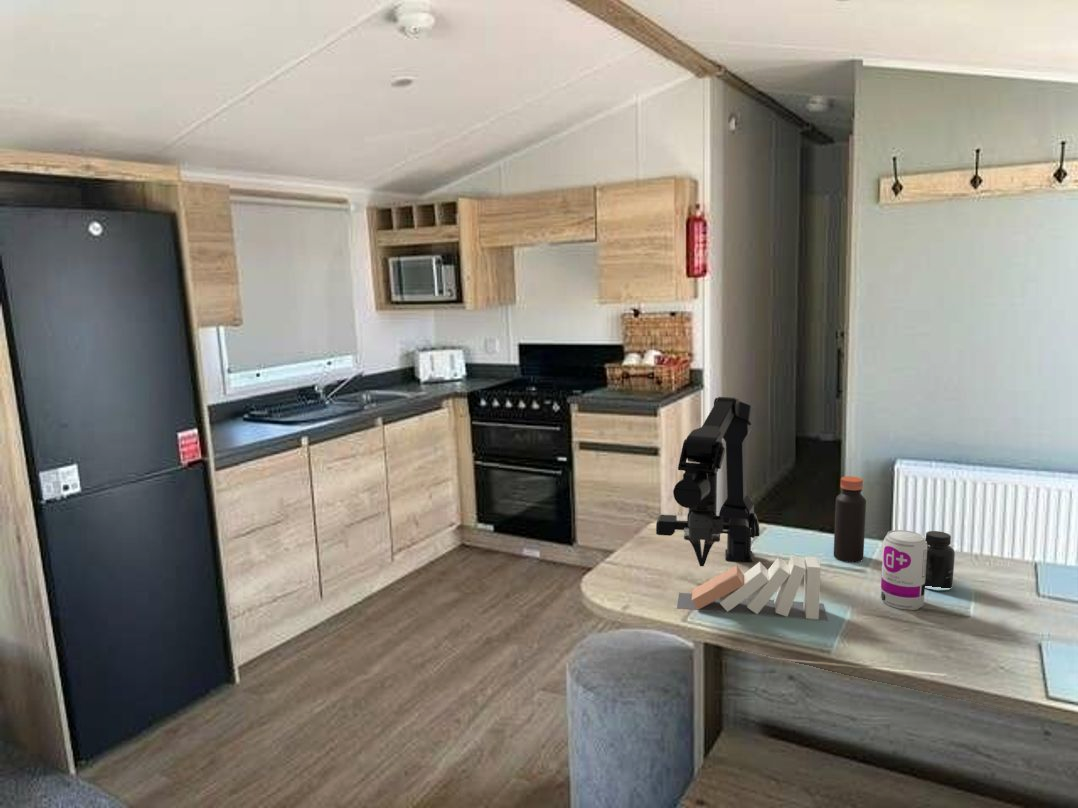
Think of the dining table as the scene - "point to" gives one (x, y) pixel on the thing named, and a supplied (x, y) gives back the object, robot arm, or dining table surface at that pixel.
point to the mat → (741, 608)
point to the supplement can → (903, 569)
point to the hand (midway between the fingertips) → (701, 565)
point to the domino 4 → (812, 587)
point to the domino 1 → (746, 586)
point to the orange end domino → (717, 587)
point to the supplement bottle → (939, 560)
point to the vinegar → (850, 521)
